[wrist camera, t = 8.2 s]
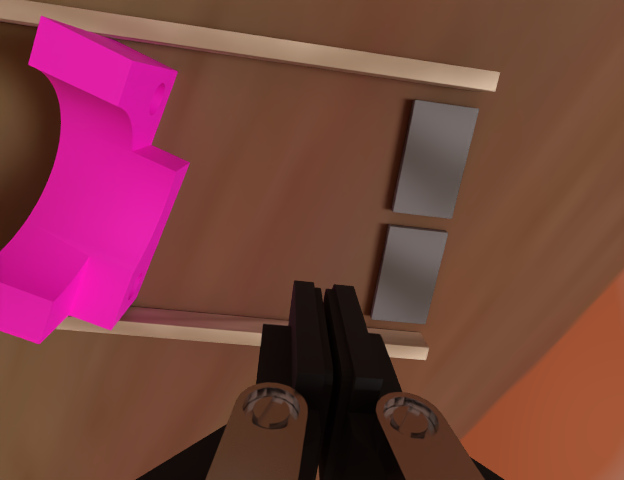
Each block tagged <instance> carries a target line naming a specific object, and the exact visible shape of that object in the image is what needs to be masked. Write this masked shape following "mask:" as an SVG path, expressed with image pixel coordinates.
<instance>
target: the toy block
mask: <svg viewBox="0 0 624 480" xmlns="http://www.w3.org/2000/svg"><path fill="white" fill-rule="evenodd" d="M28 65H30V66H32V67H34V68H36V69H38V70H40V71H41V72H42V73H43V74H44V75H45V76H46V77H47V78H48V79H49V80H50V82H51V83H52V85H53V87H54V89H55V91H56V94H57V96H58V100H59V104H60V111H61V133H60V141H59V147H58V151H57V155H56V159H55V162H54V166H53V169H52V171H51V174H50V177H49V179H48V182H47V184H46V186H45V188H44V191H43V193H42V195H41V197H40V198H39V200H38V202H37V204H36V206H35V207H34V209H33V211H32V212H31V214H30V215H29V217H28V218H27V220H26V221H25V223H24V224H23V226H22V227H21V228H20V230H19V231H18V232H17V233H16V235H15V236H14V237H13V238H12V239H11V240H10V242H9V243H8V244H7V245H6V246H5V247H4V248H3V249H2V250H1V251H0V331H3V332H5V333H8V334H11V335H14V336H17V337H20V338H23V339H26V340H29V341H31V342H34V343H37V344H40V343H41V342H42V341H43V340H44V339H45V338H46V337H47V336H48V335H49V334H50V333H51V332H52V331H53V330H54V329H55V328H56V327H57V326H58V325H59V324H60V323H61V322H62V321H63V320H64V319H65V318H66V317H67V316H68V315H69V316H72V317H75V318H78V319H80V320H83V321H86V322H89V323H91V324H94V325H97V326H100V327H102V328H105V329H108V330H112V329H113V327H114V326H115V325H116V324H117V322H118V321H119V320H120V318H121V317H122V316H123V314H124V313H125V312H126V311H127V309H128V308H129V307H130V305H131V304H132V303H133V301H134V300H135V299H136V298H137V295H138V292H139V290H140V287H141V285H142V282H143V280H144V277H145V275H146V272H147V270H148V267H149V265H150V262H151V260H152V257H153V255H154V252H155V250H156V247H157V244H158V242H159V239H160V237H161V234H162V232H163V229H164V227H165V224H166V222H167V219H168V217H169V214H170V212H171V209H172V207H173V204H174V202H175V199H176V197H177V194H178V191H179V189H180V186H181V184H182V181H183V179H184V176H185V174H186V171H187V169H188V166H189V164H190V162H187V161H185V160H183V159H181V158H179V157H177V156H174V155H172V154H170V153H168V152H166V151H163V150H161V149H159V148H157V147H155V146H153V145H151V144H152V141H153V139H154V136H155V133H156V130H157V128H158V125H159V122H160V119H161V117H162V114H163V111H164V108H165V106H166V103H167V100H168V97H169V95H170V92H171V89H172V86H173V84H174V81H175V78H176V75H177V73H178V71H176V70H174V69H172V68H170V67H168V66H166V65H164V64H162V63H160V62H158V61H156V60H154V59H152V58H150V57H148V56H146V55H144V54H142V53H140V52H138V51H136V50H134V49H132V48H130V47H128V46H126V45H124V44H122V43H120V42H118V41H116V40H113V39H110V38H107V37H104V36H101V35H98V34H95V33H92V32H89V31H86V30H83V29H80V28H77V27H74V26H71V25H68V24H65V23H62V22H59V21H56V20H53V19H50V18H47V17H44V16H41V17H40V21H39V25H38V29H37V33H36V37H35V40H34V44H33V48H32V52H31V56H30V60H29V64H28Z"/></svg>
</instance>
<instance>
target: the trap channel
mask: <svg viewBox="0 0 624 480" xmlns="http://www.w3.org/2000/svg"><path fill="white" fill-rule="evenodd" d="M41 16H44V17H47V18H50V19H53V20H56V21H59V22H62V23H65V24H68V25H71V26H74V27H77V28H80V29H83V30H86V31H89V32H92V33H95V34H98V35H101V36H104V37H110V38H116V39H123V40H130V41H137V42H144V43H150V44H157V45H164V46H171V47H178V48H185V49H191V50H198V51H205V52H212V53H219V54H225V55H232V56H239V57H246V58H253V59H259V60H266V61H273V62H280V63H287V64H293V65H300V66H307V67H314V68H321V69H328V70H334V71H341V72H348V73H355V74H362V75H368V76H375V77H382V78H389V79H396V80H402V81H409V82H416V83H423V84H430V85H437V86H443V87H450V88H457V89H464V90H471V91H477V92H490V91H495V90H496V86H497V82H498V78H499V74H500V72H493V71H487V70H480V69H474V68H467V67H461V66H454V65H447V64H441V63H434V62H428V61H421V60H415V59H408V58H401V57H395V56H388V55H382V54H375V53H368V52H362V51H355V50H349V49H342V48H336V47H329V46H322V45H316V44H309V43H303V42H296V41H290V40H283V39H276V38H270V37H263V36H257V35H250V34H243V33H237V32H230V31H224V30H217V29H211V28H204V27H197V26H191V25H184V24H178V23H171V22H164V21H158V20H151V19H145V18H138V17H132V16H125V15H118V14H112V13H105V12H99V11H92V10H86V9H79V8H72V7H66V6H59V5H53V4H46V3H39V2H33V1H26V0H0V21H1V22H7V23H14V24H21V25H28V26H35V27H38V25H39V21H40V17H41ZM478 111H479V109H476V108H469V107H462V106H455V105H448V104H441V103H434V102H427V101H420V100H413V104H412V109H411V114H410V119H409V124H408V129H407V134H406V139H405V144H404V149H403V154H402V159H401V164H400V169H399V174H398V179H397V184H396V189H395V194H394V199H393V204H392V209H391V210H392V211H393V212H398V213H407V214H415V215H424V216H432V217H441V218H449V219H452V216H453V212H454V208H455V204H456V200H457V196H458V192H459V188H460V183H461V179H462V175H463V171H464V167H465V163H466V159H467V155H468V151H469V147H470V143H471V139H472V135H473V131H474V127H475V123H476V119H477V115H478ZM447 236H448V232H446V231H443V230H435V229H426V228H417V227H408V226H400V225H391V224H388V229H387V234H386V239H385V244H384V249H383V254H382V259H381V264H380V269H379V274H378V279H377V284H376V289H375V294H374V299H373V304H372V309H371V314H370V317H371V319H374V320H385V321H396V322H407V323H417V324H426V320H427V316H428V312H429V308H430V304H431V300H432V296H433V292H434V288H435V284H436V280H437V276H438V272H439V268H440V264H441V260H442V256H443V252H444V248H445V244H446V240H447ZM288 323H289V321H287V320H276V319H265V318H254V317H243V316H232V315H221V314H210V313H199V312H188V311H177V310H166V309H154V308H143V307H132V306H130V307H129V308H128V309H127V311H126V312H125V313H124V314H123V316H122V317H121V318H120V320H119V321H118V322H117V324H116V325H115V326H114V327H113V329H112V330H108V329H105V328H102V327H100V326H97V325H94V324H91V323H89V322H86V321H83V320H80V319H78V318H75V317H72V316H69V315H68V316H67V317H66V318H65V319H64V320H63V321H62V322H61V323H60V324H59V325H58V326H57V327H56V328H55V329H63V330H75V331H87V332H99V333H111V334H122V335H134V336H146V337H158V338H170V339H182V340H194V341H206V342H217V343H229V344H241V345H253V346H261V337H262V328H263V324H274V325H285V326H288ZM367 330H368V333H377V334H381V336H382V338H383V341H384V344H385V346H386V349H387V352H388V355H389V357H396V358H408V359H419V360H426V358H427V354H428V350H429V347H428V345H427V343H426V342H425V340H424V338H423V336H422V334H421V333H420V332H409V331H398V330H387V329H376V328H367Z"/></svg>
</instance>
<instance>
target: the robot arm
mask: <svg viewBox="0 0 624 480" xmlns="http://www.w3.org/2000/svg"><path fill="white" fill-rule="evenodd" d="M318 464H319V477H320V480H504V479H503V478H501V477H499V476H498V475H497V474H495V473H493V472H492V471H491V470H489V469H488V468H486V467H485V466H483V465H482V464H480V463H478V462H477V461H475V460H474V459H472V458H471V457H470V456H469V455H468V453H467V452H466V450H465V449H464V447H463V446H462V444H461V442H460V441H459V439H458V438H457V436H456V435H455V433H454V432H453V430H452V429H451V427H450V425H449V424H448V422H447V421H446V419H445V418H444V416H443V415H442V414H441V412H440V411H439V410H438V409H437V408H436V407H435V406H434V405H433V404H431V403H430V402H429V401H427V400H425V399H423V398H421V397H419V396H417V395H414V394H410V393H405V392H402V390H401V387H400V384H399V382H398V379H397V376H396V374H395V371H394V368H393V365H392V363H391V360H390V357H389V355H388V352H387V349H386V346H385V344H384V341H383V338H382V336H381V334H377V333H368V330H367V327H366V323H365V320H364V317H363V314H362V311H361V308H360V305H359V301H358V298H357V295H356V292H355V289H354V287H353V286H345V285H335V284H334V285H333V288H332V289H326V291H325V296H324V302H323V299H322V293H321V288H314V282H304V281H294V285H293V292H292V300H291V308H290V315H289V323H288V326H285V325H274V324H263V328H262V337H261V346H260V355H259V364H258V372H257V381H256V385H253V386H251V387H248V388H247V389H246V390H244V391H243V392H242V393H241V394H240V395H239V397H238V398H237V400H236V402H235V405H234V407H233V410H232V413H231V415H230V418H229V420H228V423H227V424H226V425H225V426H223V427H221V428H220V429H218V430H216V431H215V432H213V433H211V434H210V435H208V436H207V437H205V438H203V439H202V440H200V441H198V442H197V443H195V444H193V445H192V446H190V447H189V448H187V449H185V450H184V451H182V452H180V453H179V454H177V455H175V456H174V457H172V458H171V459H169V460H167V461H166V462H164V463H162V464H161V465H159V466H157V467H156V468H154V469H152V470H151V471H149V472H148V473H146V474H144V475H143V476H141V477H139V478H138V479H136V480H315V479H316V474H317V468H318Z"/></svg>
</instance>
